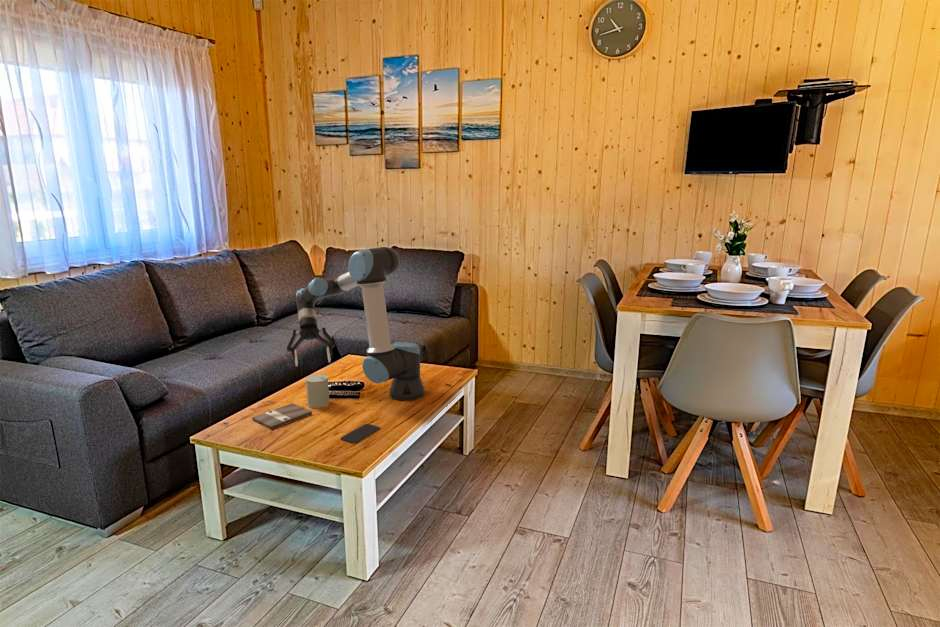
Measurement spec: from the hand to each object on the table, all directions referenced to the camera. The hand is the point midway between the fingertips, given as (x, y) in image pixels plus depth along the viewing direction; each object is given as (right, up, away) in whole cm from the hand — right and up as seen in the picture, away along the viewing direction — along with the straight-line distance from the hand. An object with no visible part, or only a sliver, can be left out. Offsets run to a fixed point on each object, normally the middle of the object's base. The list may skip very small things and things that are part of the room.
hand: (313, 363), depth 238 cm
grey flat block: (-7, -20, -19) cm, 28 cm away
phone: (+27, -24, -32) cm, 48 cm away
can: (+4, -17, -6) cm, 18 cm away
